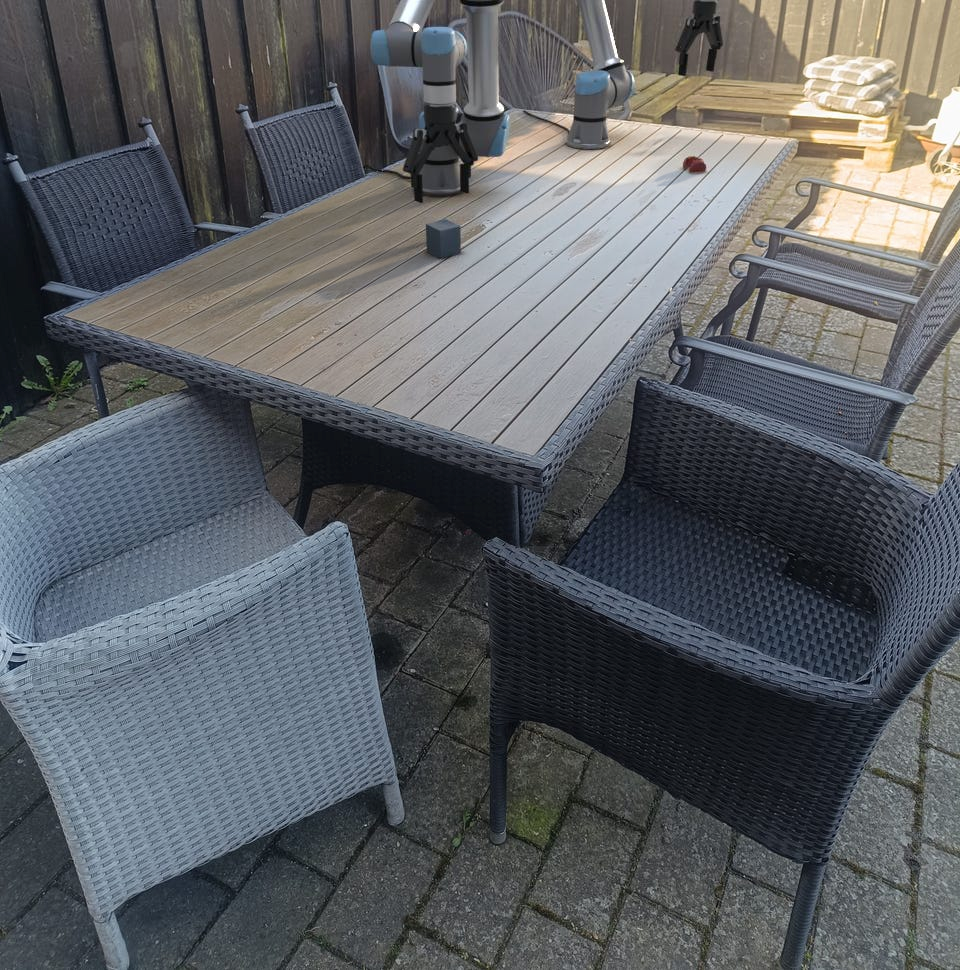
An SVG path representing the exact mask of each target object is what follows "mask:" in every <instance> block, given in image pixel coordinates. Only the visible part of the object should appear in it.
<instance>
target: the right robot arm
mask: <svg viewBox="0 0 960 970" xmlns="http://www.w3.org/2000/svg"><path fill="white" fill-rule="evenodd" d="M577 3H578V7H579V10H580V14H581V19H582V22H583V26H584V30H585V34H586V38H587V42H588V46H589V50H590V54H591V57H592V62H593V69H592V70H586V71H583V72H580V73H579V74H578V75H577V76H576V78H575V79H576V80H575V85H574V100H573V101H574V102H573V119H572V124H571V127H570V128H567V127H565V126H564V125H561V124H560V123H557V122H554V121H551V120H549V119H545V118H542V117H541V116H537V115H535V114H532V113H531V112H529V111H527V110H525V109H522V112H523V113H525V114H526V115H528V116H530V117H532V118H535V119H537V120H541V121H543V122H546V123H549V124H552V125H555V126H557V127H559V128H561V129H563V130H565V131H567V132H568V134H567V137H566V145H567V146H569V147H571V148H574V149H579V150H601V149H605V148H607V147H609V146H610V143H611V142H610V141H611V139H610V134H609V129H608V125H607V117H608V116H607V115H608V110H609V109H612V108H617V107H620V106H623V105H624V104H625V103H627V102H629V101H630V100H631V98H632V96H633V94H634V92H635V88H636V87H635V86H636V82H635V81H636V80H635V77H634V75H633V74H632V72H631V71H629V70H628V69H627V68H626V66H625V61H624V60H623V59H621V58H620V57H619V56H618V52H617V47H616V44H615V40H614V39H615V38H614V35H613V31H612V27H611V23H610V19H609V14H608V11H607V6H606V2H605V0H577ZM692 3H693V4H692V9H691V10H692V12H691V13H692V14H693V18H689V17H687V18H686V20H685V22H684V23H685V24H684V27H683V30H682V32H681V35H680V37H679V39H678V41H677V44H676V46H675V52H677V53H678V54H679V57H678V71H677V72H678V73H677V76H682V77H686V76H687V68H688V61H689V53H688V52H689V50H690V48H691V47H692V45H693V44H694V42H695V41H696V39H697V37H698V36H699V35H701V34H705V37H706V38H707V41H708V44H709V47H710V48H708V53H707V59H706V67H705V71H707V72H711V73H712V72H713V73H714V70H715V65H716V61H717V55H718V51H719V50H721V48H722V47H723V46H724V42H723V35H722V34H723V33H722V28H721V16H720V15H716V14H717V9H718V3H719V2H718V1H717V0H694V1H693V2H692Z"/></svg>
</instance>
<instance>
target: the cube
mask: <svg viewBox="0 0 960 970" xmlns="http://www.w3.org/2000/svg"><path fill="white" fill-rule="evenodd" d="M461 232H462V231H461V225H459V224H457V223H456V222H452V221H450V220H448V219H445V218H444V219H440V220H435V221H432V222H428V223H425V239H426V240H425V241H426V242H425V243H426V252H428V253H430V254H432V255H434V256H436V257H438V258H439V259H444V258H449V257H452V256H456V255H460V254H461V253H462V244H461V243H462V242H461V241H462V238H461V237H462V236H461Z"/></svg>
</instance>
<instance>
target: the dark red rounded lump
mask: <svg viewBox="0 0 960 970" xmlns="http://www.w3.org/2000/svg"><path fill="white" fill-rule="evenodd" d="M688 168H689V169H688ZM682 169H688V171H689V173H702V172H706V171H707V164H706V162H705V160H704V159H702V158H701V157H698V156H695V155H689V156H687V157H686V158H684V160H683V162H682Z"/></svg>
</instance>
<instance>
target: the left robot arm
mask: <svg viewBox="0 0 960 970" xmlns="http://www.w3.org/2000/svg"><path fill="white" fill-rule="evenodd" d="M436 1H437V0H400V1H399V3H398V5H397V6H396V10H395V11H394V14H393V16H392V18H391V21H390V22H389V24H388V27H387V29H384V28H383V29H378V30H374V31H373V32H372V34H371V37H370V55H371V59H372V62H373V63H374V64H375V65H377V66H383V67H389V68H391V67H395V68H396V67H400V68H402V67H403V68H422V69H421V70H422V92H423V102H424V103H425V104H424V105H423V111H422V112H421V113H420V114H419V117H418V118H419V119H418V120H419V121H418V128H413V130H412V140H411V142H410V146H409V148H408V152H407V155H406V157H405V161H404V163H403V167H402V172H405V173H407V174H409V175H410V176H409V175H404V174H402V173H400V172H398V171H396V170H390V169H382V168H376V167H373V165H371V164H369V163H365V164H364V165H363V166H362V169H366V168H369V169H370V170H371V171H374V172H377V173H384V174H385V173H386V174H392V175H395V176H398V177H399V178H401V179H405V180H410V186H411V188H412V189H413V198H414V199H413V201H414V202H417V203H419V204H423V203H424V196H430V197H450V196H455V195H459V194H461V193H464V194H466V195H467V194H469V193H470V178H471V177H472V166H474V165H475V162H478V161H479V157H480V158H481V157H483V158H500V157H502V156H503V155H504V154H505V151H506V149H507V148H506V147H507V144H508V140H509V134H510V126H511V116H510V115H509V114H507V113H505V107H504V105H503V104H502V103H501V102H500V100H499V99H500V98H499V97H500V95H499V93H500V92H499V91H500V90H499V89H500V87H499V83H500V82H499V81H500V80H499V79H500V78H499V9H500V7H501V6H502V5H503V3H504V0H459V4H460V6H462V8H463V9H464V10H465V26H466V28H465V29H466V38H465V37H464V35H463V34H462V33H461V32H459V31H457V30H454V29H453V28H452V27H449V26H430V27H425V28H424V26H425V24H426V22H427V20H428V17H429V14H430V12H431V10H432V8H433V5H434V3H435V2H436ZM466 57H467V59H466V60H467V80H468V81H467V83H468V86H467V87H468V102H467V104H465V106H464V107H463V112H460V110H459V108H458V106H457V105H456V102H457V84H456V83H457V82H456V81H457V79H456V70H457V69H456V68H457V67H458V66H460V65H461V64H462V63H463V61H464V60H465V58H466ZM460 160H461V162H462V163H460ZM382 170H383V171H382Z"/></svg>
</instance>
